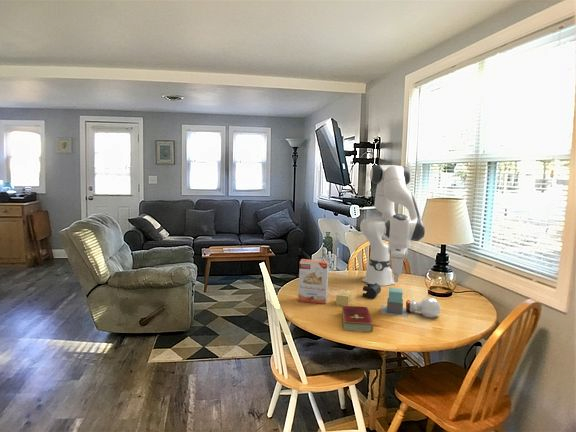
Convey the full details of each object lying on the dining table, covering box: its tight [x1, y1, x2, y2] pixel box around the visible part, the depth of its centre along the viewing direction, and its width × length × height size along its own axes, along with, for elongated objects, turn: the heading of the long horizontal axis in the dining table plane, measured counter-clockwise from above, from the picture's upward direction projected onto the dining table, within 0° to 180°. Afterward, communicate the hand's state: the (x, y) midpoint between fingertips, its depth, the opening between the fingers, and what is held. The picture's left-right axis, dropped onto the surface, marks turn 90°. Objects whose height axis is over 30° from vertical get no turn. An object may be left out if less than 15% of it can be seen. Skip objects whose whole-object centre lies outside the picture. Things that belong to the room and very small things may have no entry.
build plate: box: [380, 305, 409, 318], centre depth 193 cm, size 12×12×1 cm
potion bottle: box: [405, 296, 442, 319], centre depth 189 cm, size 9×10×15 cm
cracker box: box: [297, 258, 330, 305], centre depth 205 cm, size 14×6×21 cm, turn 78°
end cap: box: [362, 283, 382, 300], centre depth 215 cm, size 10×7×7 cm
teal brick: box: [387, 287, 403, 303], centre depth 192 cm, size 6×6×5 cm
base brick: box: [386, 297, 404, 314], centre depth 193 cm, size 7×7×5 cm
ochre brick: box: [335, 291, 351, 306], centre depth 204 cm, size 6×6×5 cm
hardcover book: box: [341, 305, 374, 333], centre depth 181 cm, size 12×21×4 cm, turn 175°
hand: (396, 278), depth 191 cm, fingers open, 8 cm apart
